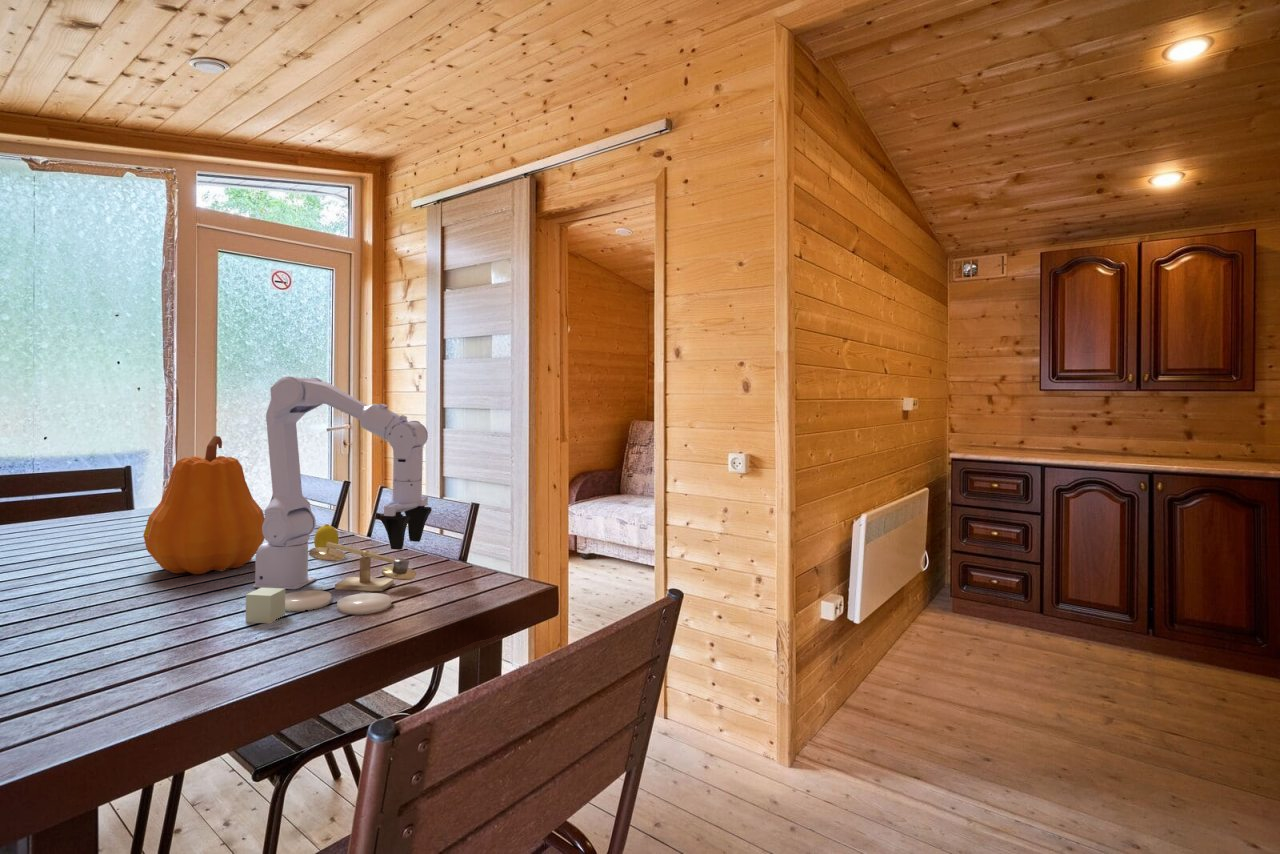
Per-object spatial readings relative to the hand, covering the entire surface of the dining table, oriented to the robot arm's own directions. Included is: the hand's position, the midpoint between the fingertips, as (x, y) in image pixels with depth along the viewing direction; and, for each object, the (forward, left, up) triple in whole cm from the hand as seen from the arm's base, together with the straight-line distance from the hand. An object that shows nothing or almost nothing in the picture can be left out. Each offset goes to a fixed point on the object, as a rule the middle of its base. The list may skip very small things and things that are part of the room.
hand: (406, 545), depth 137 cm
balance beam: (-11, +3, -5) cm, 12 cm away
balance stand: (-10, +3, -10) cm, 14 cm away
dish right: (-4, -10, -10) cm, 15 cm away
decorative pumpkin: (-51, +12, -10) cm, 53 cm away
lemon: (-31, +27, -10) cm, 42 cm away
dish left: (-16, -10, -10) cm, 21 cm away
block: (-18, -19, -10) cm, 28 cm away
